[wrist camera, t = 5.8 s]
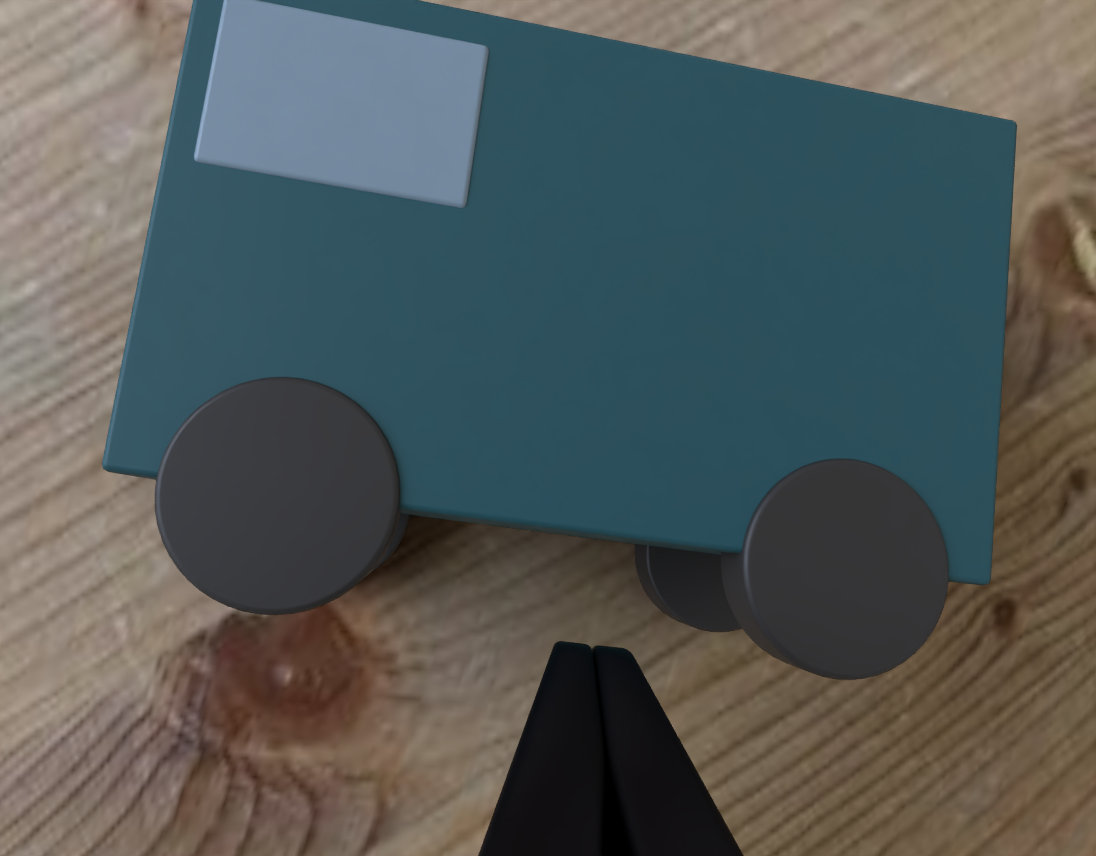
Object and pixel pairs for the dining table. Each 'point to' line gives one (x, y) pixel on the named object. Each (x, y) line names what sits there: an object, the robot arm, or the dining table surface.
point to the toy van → (569, 320)
